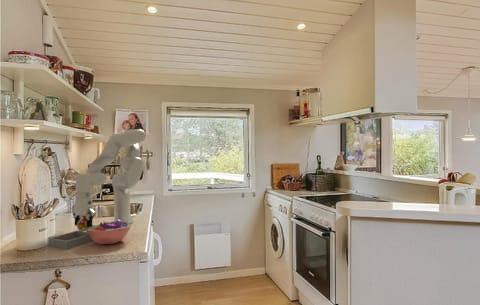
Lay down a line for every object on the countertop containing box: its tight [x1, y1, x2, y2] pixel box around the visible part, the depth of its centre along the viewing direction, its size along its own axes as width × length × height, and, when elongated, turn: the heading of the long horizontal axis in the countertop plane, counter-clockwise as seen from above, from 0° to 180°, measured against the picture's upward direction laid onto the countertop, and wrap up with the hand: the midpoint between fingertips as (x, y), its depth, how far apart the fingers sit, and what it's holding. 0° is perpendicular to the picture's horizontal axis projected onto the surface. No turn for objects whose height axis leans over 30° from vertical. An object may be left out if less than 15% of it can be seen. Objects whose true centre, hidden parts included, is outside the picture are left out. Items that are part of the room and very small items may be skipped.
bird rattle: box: [76, 216, 94, 232], centre depth 166 cm, size 6×11×9 cm
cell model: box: [88, 219, 132, 245], centre depth 146 cm, size 17×20×11 cm
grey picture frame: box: [47, 230, 94, 250], centre depth 147 cm, size 15×13×4 cm
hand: (83, 225), depth 166 cm, fingers open, 9 cm apart
